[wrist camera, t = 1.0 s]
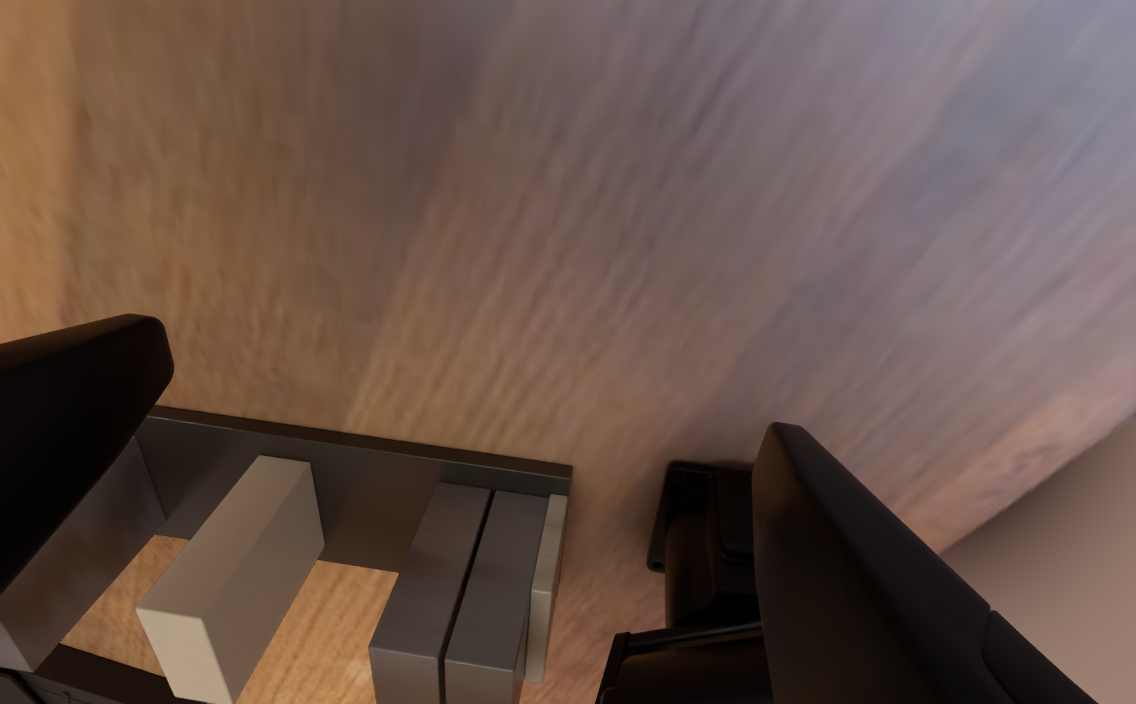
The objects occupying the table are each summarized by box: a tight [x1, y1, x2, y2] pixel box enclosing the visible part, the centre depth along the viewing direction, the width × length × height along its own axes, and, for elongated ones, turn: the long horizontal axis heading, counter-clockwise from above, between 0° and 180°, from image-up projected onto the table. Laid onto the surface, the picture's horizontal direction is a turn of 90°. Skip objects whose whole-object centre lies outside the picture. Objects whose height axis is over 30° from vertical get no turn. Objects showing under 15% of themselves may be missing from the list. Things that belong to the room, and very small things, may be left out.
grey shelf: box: [0, 406, 572, 704], centre depth 27 cm, size 8×26×9 cm, turn 85°
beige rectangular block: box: [135, 455, 325, 704], centre depth 26 cm, size 6×2×8 cm, turn 175°
